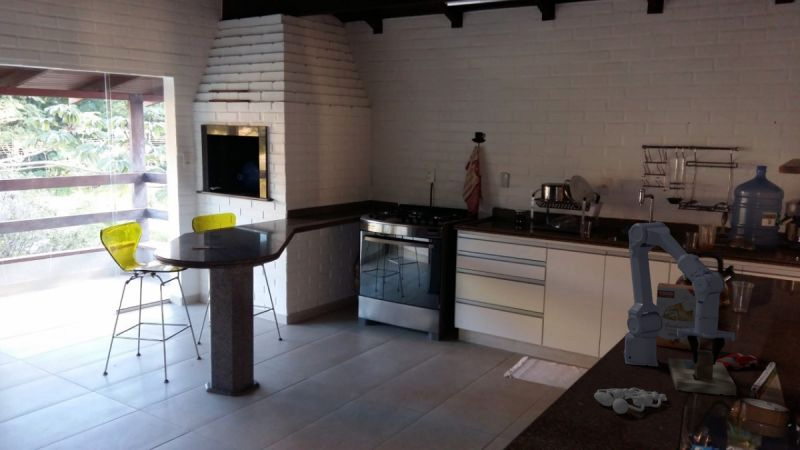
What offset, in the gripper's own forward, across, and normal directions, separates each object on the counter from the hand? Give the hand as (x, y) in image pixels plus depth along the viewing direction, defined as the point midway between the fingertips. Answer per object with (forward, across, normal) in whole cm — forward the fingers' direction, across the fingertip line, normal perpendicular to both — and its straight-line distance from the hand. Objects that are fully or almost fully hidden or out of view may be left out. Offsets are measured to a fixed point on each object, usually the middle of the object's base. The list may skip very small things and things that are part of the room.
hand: (704, 363), depth 178 cm
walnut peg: (+4, 0, 0) cm, 4 cm away
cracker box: (+7, -2, +36) cm, 37 cm away
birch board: (+7, 0, +5) cm, 9 cm away
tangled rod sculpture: (+7, -21, -17) cm, 28 cm away
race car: (+7, +12, +20) cm, 25 cm away
